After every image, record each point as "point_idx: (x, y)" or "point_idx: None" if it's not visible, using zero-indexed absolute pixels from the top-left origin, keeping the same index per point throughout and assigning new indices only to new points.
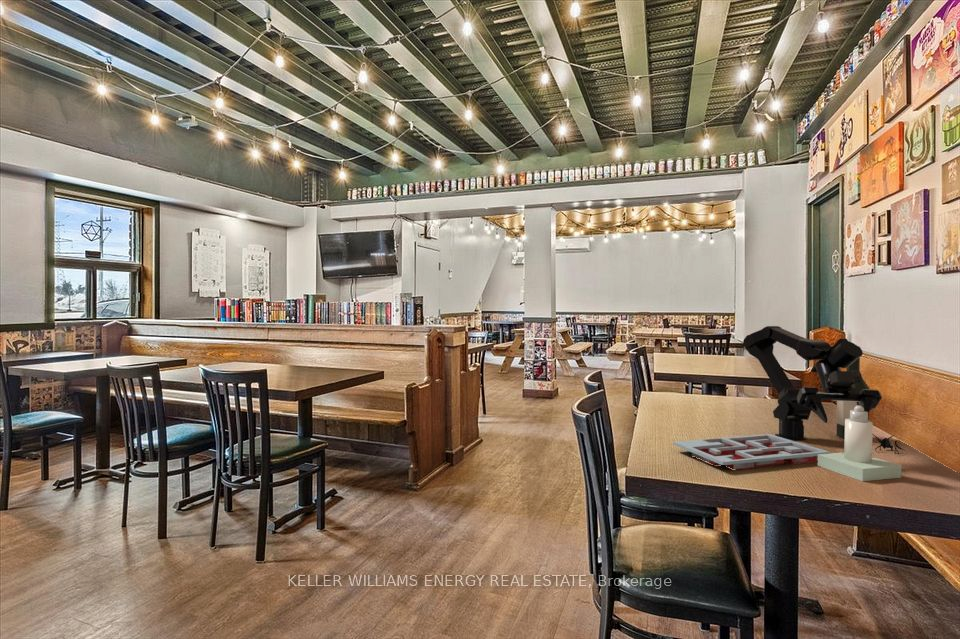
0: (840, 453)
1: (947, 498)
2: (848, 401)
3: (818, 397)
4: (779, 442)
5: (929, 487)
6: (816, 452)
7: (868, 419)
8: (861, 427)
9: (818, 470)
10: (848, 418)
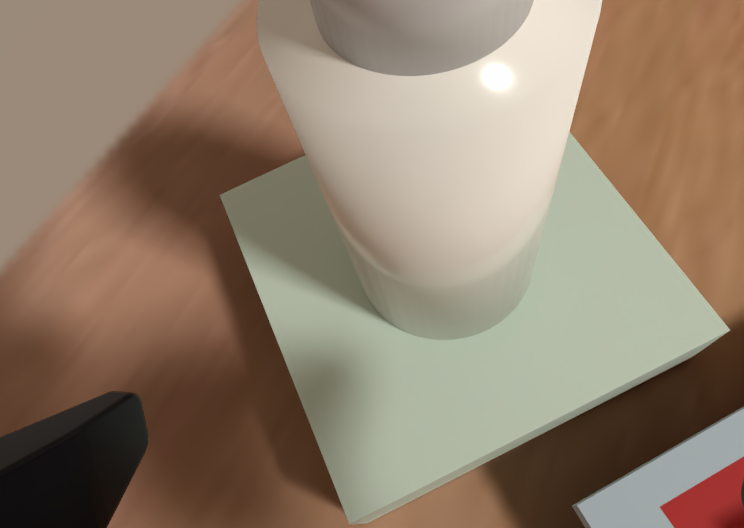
0: (506, 420)
1: (245, 9)
2: None
3: None
4: None
5: (215, 117)
6: (715, 442)
7: (46, 419)
8: None
9: (708, 245)
10: (503, 111)
